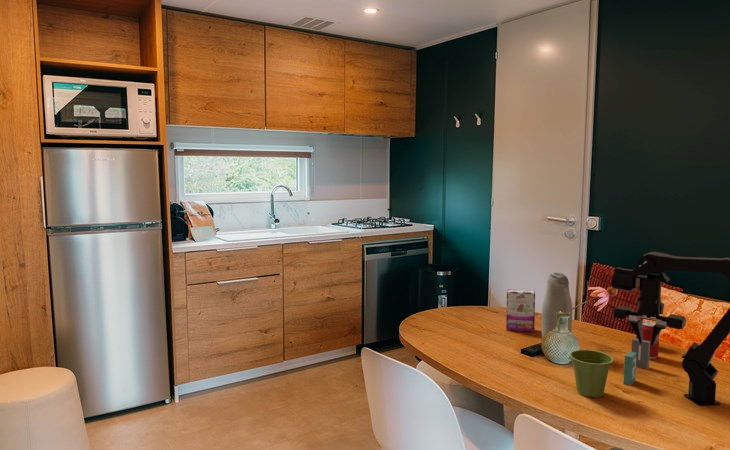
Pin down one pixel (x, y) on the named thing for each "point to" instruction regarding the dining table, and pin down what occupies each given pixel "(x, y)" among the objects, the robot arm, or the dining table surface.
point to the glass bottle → (556, 301)
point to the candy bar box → (520, 310)
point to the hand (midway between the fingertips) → (646, 344)
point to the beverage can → (650, 338)
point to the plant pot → (591, 371)
